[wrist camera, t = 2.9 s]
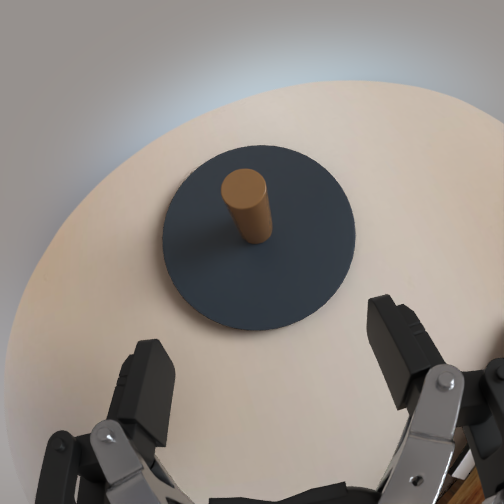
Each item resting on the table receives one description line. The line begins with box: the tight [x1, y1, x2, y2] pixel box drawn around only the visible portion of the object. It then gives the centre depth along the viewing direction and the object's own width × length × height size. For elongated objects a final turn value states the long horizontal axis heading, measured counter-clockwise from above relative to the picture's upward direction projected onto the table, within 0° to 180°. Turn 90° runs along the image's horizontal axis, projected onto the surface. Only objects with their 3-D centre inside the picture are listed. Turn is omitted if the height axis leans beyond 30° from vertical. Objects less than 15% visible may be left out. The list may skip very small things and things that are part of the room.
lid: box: [162, 145, 356, 330], centre depth 20 cm, size 16×16×8 cm
